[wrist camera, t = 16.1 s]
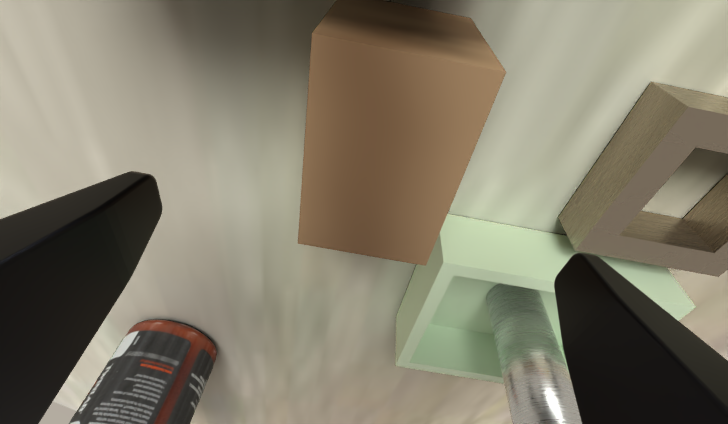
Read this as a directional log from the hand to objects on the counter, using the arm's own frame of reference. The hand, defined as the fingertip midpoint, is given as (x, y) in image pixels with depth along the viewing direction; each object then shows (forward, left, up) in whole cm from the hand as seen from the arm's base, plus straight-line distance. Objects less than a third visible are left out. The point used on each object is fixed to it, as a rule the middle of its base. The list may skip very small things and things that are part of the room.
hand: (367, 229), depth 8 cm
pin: (-9, +8, -6) cm, 14 cm away
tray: (-9, +9, -7) cm, 14 cm away
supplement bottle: (+10, +20, -7) cm, 23 cm away
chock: (0, 0, -7) cm, 7 cm away
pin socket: (-12, +1, -7) cm, 13 cm away
